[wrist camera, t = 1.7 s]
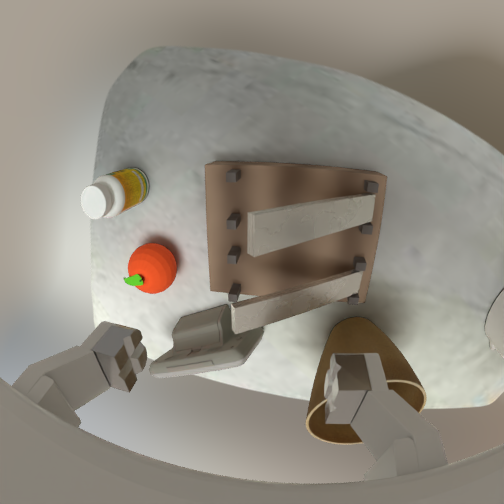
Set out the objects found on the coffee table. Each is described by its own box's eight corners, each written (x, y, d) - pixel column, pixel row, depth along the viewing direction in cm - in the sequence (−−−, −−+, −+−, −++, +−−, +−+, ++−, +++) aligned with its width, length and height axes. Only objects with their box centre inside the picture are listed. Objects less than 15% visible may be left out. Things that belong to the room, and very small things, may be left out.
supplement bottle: (130, 210, 37) (90, 233, 29) (113, 179, 36) (70, 195, 27) (157, 192, 36) (117, 211, 27) (138, 159, 34) (95, 170, 26)
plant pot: (287, 341, 42) (279, 425, 28) (355, 278, 36) (382, 360, 22) (348, 378, 44) (356, 453, 30) (413, 327, 38) (444, 402, 24)
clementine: (148, 283, 42) (126, 307, 36) (130, 243, 40) (104, 263, 33) (191, 274, 40) (172, 300, 34) (173, 230, 38) (150, 250, 31)
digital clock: (181, 349, 47) (159, 392, 37) (162, 309, 44) (133, 351, 34) (269, 345, 43) (261, 396, 34) (257, 299, 40) (245, 349, 31)
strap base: (377, 171, 30) (394, 180, 24) (359, 286, 37) (368, 314, 31) (214, 161, 33) (197, 167, 27) (218, 276, 39) (204, 301, 34)
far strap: (359, 267, 31) (364, 270, 31) (355, 288, 33) (359, 291, 32) (231, 303, 25) (234, 308, 24) (231, 329, 26) (235, 334, 25)
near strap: (370, 192, 28) (376, 194, 27) (367, 218, 29) (373, 220, 28) (247, 212, 19) (254, 215, 18) (247, 253, 20) (254, 257, 19)
